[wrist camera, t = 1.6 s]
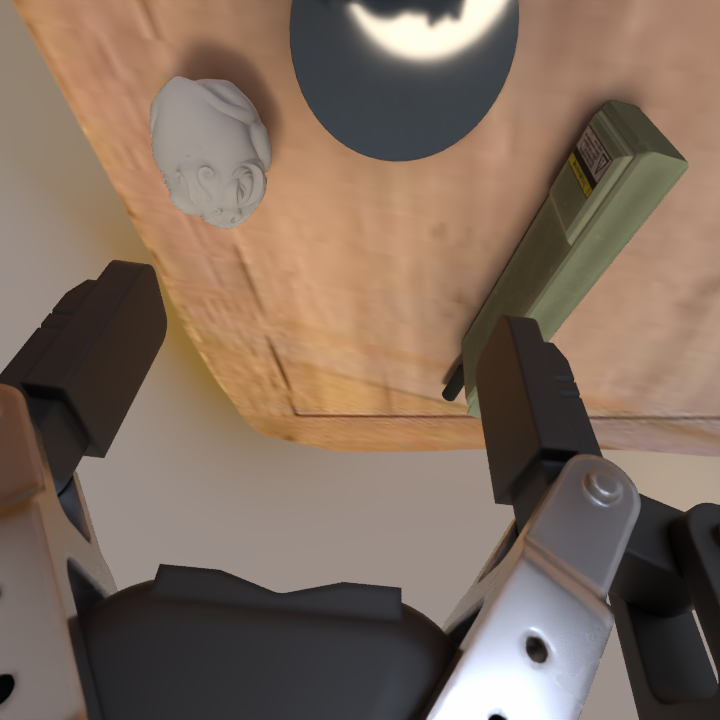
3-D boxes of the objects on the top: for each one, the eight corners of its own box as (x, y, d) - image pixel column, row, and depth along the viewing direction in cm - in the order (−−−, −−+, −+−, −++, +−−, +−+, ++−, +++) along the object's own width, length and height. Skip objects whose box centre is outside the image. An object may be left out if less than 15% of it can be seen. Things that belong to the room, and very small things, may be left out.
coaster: (295, -144, 18) (293, -144, 17) (560, -85, 18) (563, -84, 18) (288, 139, 26) (286, 143, 25) (471, 172, 27) (472, 176, 26)
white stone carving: (208, 187, 28) (169, 250, 24) (150, 61, 23) (87, 111, 19) (298, 173, 27) (276, 236, 23) (258, 38, 22) (220, 84, 18)
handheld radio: (653, 112, 23) (465, 389, 42) (596, 94, 23) (431, 381, 42) (706, 167, 19) (469, 451, 37) (636, 146, 19) (432, 442, 37)
